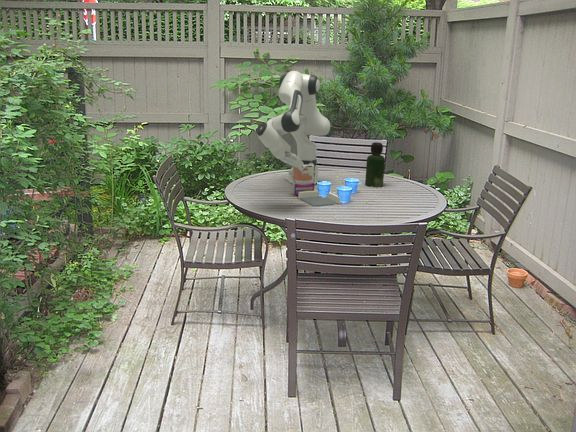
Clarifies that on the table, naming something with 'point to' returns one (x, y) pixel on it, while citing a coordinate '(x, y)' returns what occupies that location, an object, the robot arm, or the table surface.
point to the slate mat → (318, 201)
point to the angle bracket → (300, 175)
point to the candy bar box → (304, 184)
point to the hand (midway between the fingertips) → (298, 168)
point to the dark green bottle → (375, 166)
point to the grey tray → (316, 194)
